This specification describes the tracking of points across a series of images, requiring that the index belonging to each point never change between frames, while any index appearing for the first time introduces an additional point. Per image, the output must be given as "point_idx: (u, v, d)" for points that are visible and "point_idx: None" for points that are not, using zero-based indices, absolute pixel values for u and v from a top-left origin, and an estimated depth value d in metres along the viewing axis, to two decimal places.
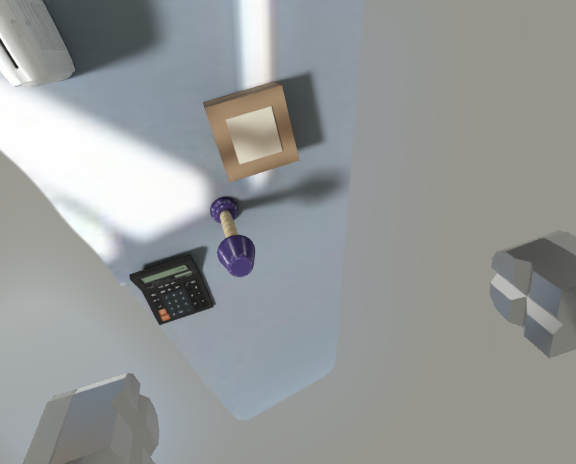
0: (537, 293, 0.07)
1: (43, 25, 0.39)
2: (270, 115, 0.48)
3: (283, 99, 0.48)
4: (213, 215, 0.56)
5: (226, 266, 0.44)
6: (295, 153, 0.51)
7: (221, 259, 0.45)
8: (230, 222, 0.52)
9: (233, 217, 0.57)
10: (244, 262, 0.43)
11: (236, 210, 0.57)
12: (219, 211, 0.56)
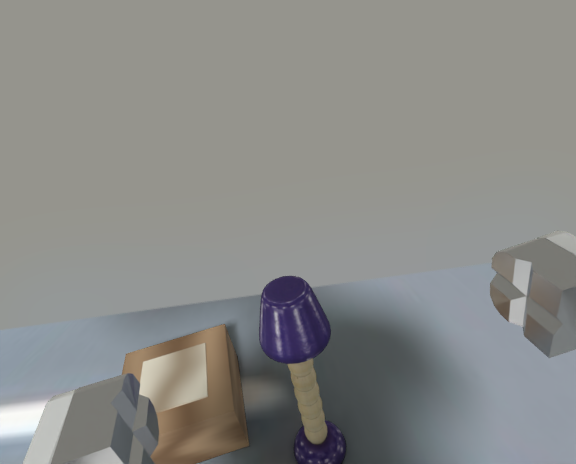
0: (537, 294, 0.07)
1: None
2: (154, 361, 0.35)
3: (142, 350, 0.37)
4: (322, 462, 0.29)
5: (286, 315, 0.22)
6: (214, 329, 0.38)
7: (288, 339, 0.22)
8: None
9: (325, 422, 0.31)
10: (275, 285, 0.23)
11: None
12: (310, 446, 0.29)
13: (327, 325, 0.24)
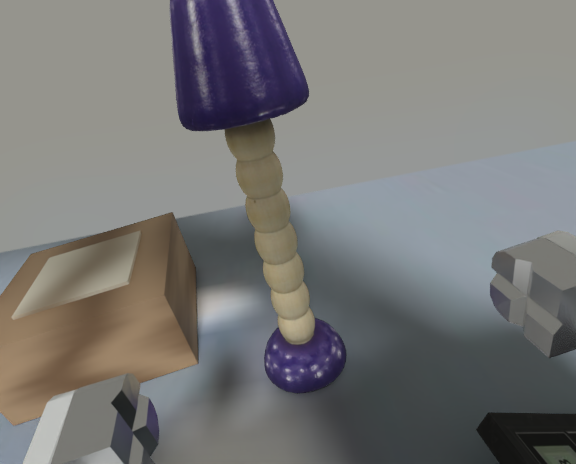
0: (537, 293, 0.07)
1: None
2: (64, 256, 0.24)
3: (54, 248, 0.26)
4: (306, 370, 0.17)
5: (212, 4, 0.11)
6: (157, 218, 0.27)
7: (220, 63, 0.11)
8: None
9: None
10: None
11: None
12: (287, 348, 0.18)
13: (301, 71, 0.13)
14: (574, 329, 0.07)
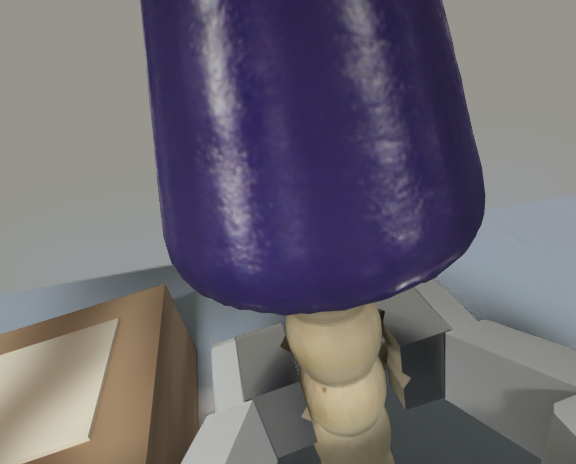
0: (388, 344, 0.07)
1: None
2: (7, 358, 0.17)
3: None
4: None
5: None
6: (143, 293, 0.19)
7: (292, 146, 0.03)
8: None
9: None
10: None
11: None
12: None
13: None
14: (426, 382, 0.07)
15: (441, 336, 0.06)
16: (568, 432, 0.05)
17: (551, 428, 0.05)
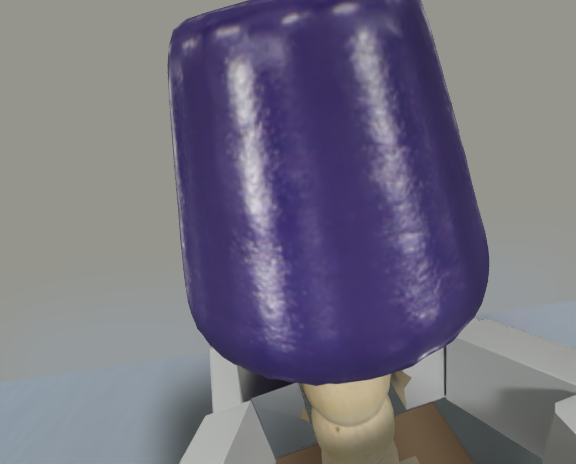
0: None
1: None
2: None
3: None
4: None
5: (309, 76, 0.03)
6: (414, 415, 0.17)
7: (325, 242, 0.04)
8: None
9: None
10: None
11: None
12: None
13: None
14: (427, 382, 0.07)
15: None
16: (569, 432, 0.05)
17: (552, 428, 0.05)
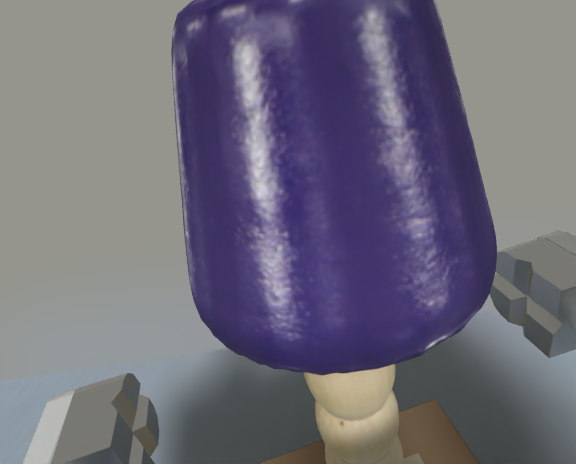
0: (537, 293, 0.07)
1: None
2: None
3: None
4: None
5: (317, 56, 0.03)
6: (417, 412, 0.17)
7: (332, 227, 0.04)
8: None
9: None
10: None
11: None
12: None
13: None
14: (574, 329, 0.07)
15: None
16: None
17: None
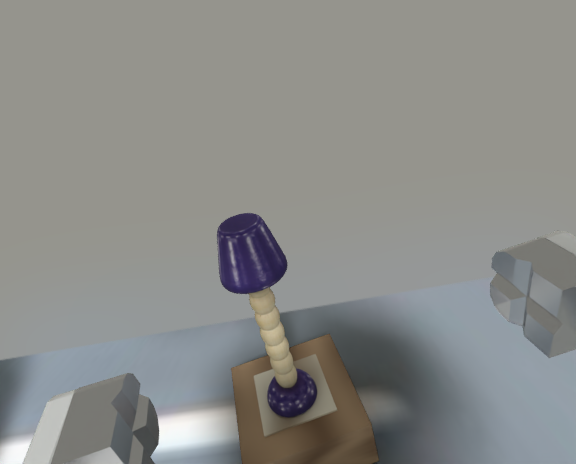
0: (537, 293, 0.07)
1: None
2: (265, 375, 0.34)
3: (248, 363, 0.36)
4: (293, 403, 0.30)
5: (240, 244, 0.23)
6: (319, 339, 0.36)
7: (244, 268, 0.23)
8: None
9: (296, 369, 0.32)
10: (230, 221, 0.24)
11: None
12: (281, 390, 0.30)
13: (282, 257, 0.25)
14: (574, 329, 0.07)
15: None
16: None
17: None
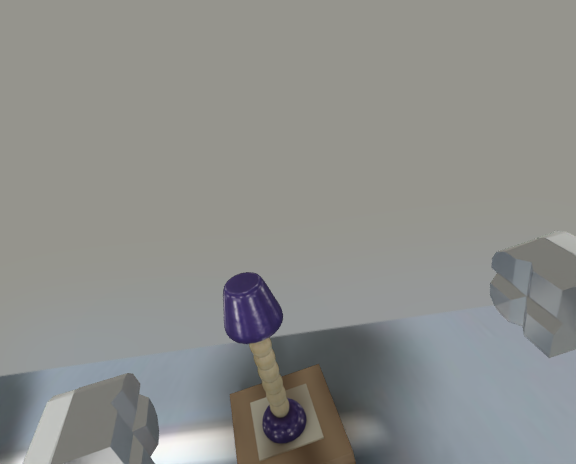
0: (537, 293, 0.07)
1: None
2: (260, 402, 0.38)
3: (245, 390, 0.40)
4: (285, 432, 0.34)
5: (243, 303, 0.27)
6: (310, 369, 0.40)
7: (246, 323, 0.27)
8: None
9: (288, 399, 0.36)
10: (234, 280, 0.28)
11: None
12: (274, 420, 0.34)
13: (279, 311, 0.29)
14: (574, 329, 0.07)
15: None
16: None
17: None
